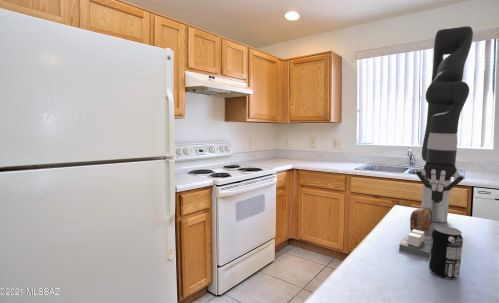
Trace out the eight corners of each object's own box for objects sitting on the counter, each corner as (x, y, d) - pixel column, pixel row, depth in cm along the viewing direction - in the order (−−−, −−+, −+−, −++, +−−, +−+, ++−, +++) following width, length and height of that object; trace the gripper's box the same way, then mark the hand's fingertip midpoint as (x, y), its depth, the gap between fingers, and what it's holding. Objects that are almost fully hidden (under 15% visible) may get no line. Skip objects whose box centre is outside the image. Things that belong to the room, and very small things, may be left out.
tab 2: (409, 241, 87) (410, 232, 87) (420, 244, 85) (421, 235, 85) (407, 244, 85) (408, 234, 85) (418, 247, 83) (419, 237, 83)
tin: (417, 237, 96) (418, 213, 95) (407, 234, 99) (409, 211, 98) (432, 227, 106) (433, 206, 105) (422, 225, 108) (424, 204, 107)
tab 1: (413, 238, 90) (413, 229, 90) (423, 240, 88) (424, 231, 88) (411, 240, 88) (411, 231, 88) (421, 243, 86) (422, 233, 86)
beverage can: (430, 264, 77) (434, 223, 76) (459, 272, 73) (464, 229, 72) (427, 274, 72) (431, 229, 71) (458, 283, 68) (463, 236, 67)
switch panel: (409, 238, 95) (410, 232, 95) (452, 249, 87) (453, 242, 87) (398, 250, 86) (399, 243, 86) (445, 263, 78) (446, 256, 77)
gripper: (470, 148, 83) (464, 204, 85) (420, 145, 92) (415, 195, 94) (467, 150, 78) (461, 209, 80) (414, 147, 87) (410, 200, 89)
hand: (436, 202), depth 87 cm, fingers closed
